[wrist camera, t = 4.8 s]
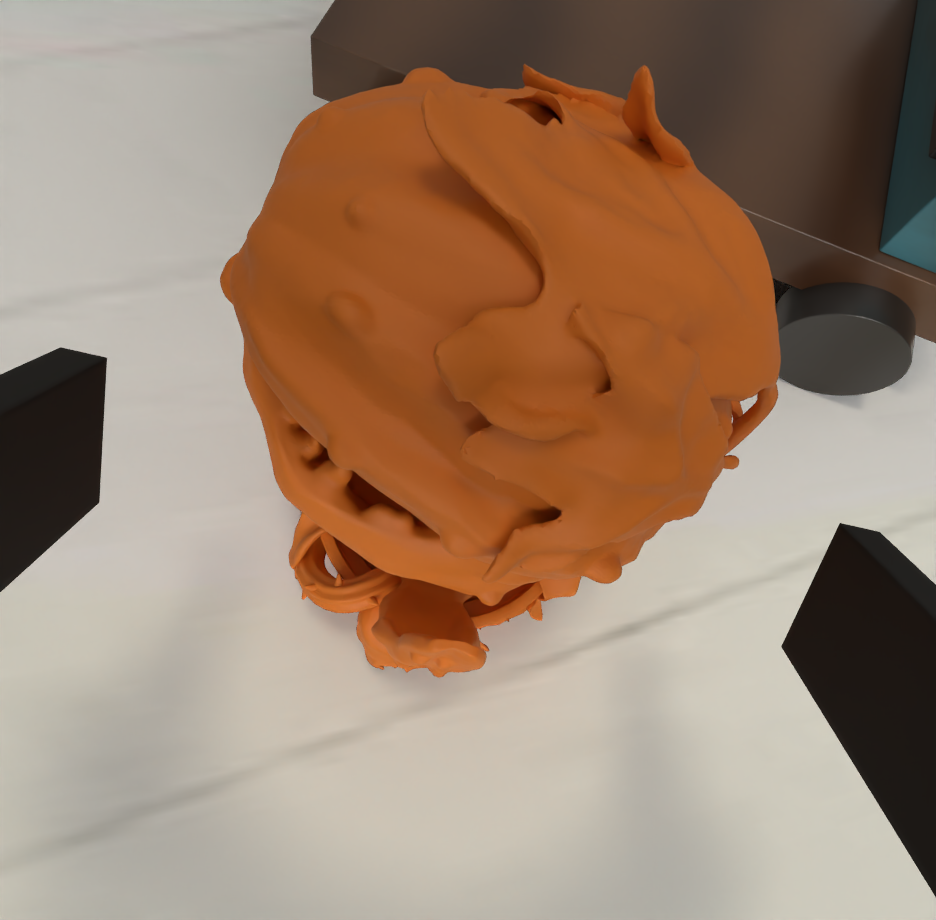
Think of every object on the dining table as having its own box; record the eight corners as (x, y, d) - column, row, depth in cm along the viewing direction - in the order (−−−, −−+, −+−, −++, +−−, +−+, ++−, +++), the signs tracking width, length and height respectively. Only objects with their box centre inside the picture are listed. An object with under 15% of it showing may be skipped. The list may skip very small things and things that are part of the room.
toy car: (300, 189, 31) (276, -133, 20) (471, -96, 39) (521, -433, 28) (889, 423, 31) (1193, 234, 20) (933, 89, 39) (1163, -174, 28)
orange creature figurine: (325, 352, 28) (300, -236, 11) (602, 433, 28) (959, -19, 12) (216, 646, 24) (-82, 377, 7) (546, 734, 24) (991, 679, 8)
